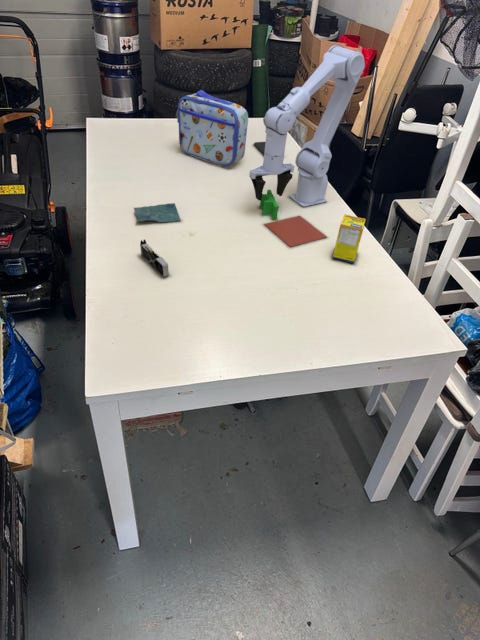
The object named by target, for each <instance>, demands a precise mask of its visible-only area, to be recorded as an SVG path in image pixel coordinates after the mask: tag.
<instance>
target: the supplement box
mask: <svg viewBox="0 0 480 640" xmlns="http://www.w3.org/2000/svg"><path fill="white" fill-rule="evenodd" d="M366 220H367V219H366V218H364V217H363V218H362V217H359V216H353V215H350V214H343V217H342V219H341V223H340V225H339V228H338V233H337V237H336V242H335V246H334V251H333V255H332V260H336V261H341V262H344V263H349V264H352V265H353V264H355V260H356V258H357V254H358V250H359V247H360V243H361V238H362V236H363V232H364V228H365V224H366Z"/></svg>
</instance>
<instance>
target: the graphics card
mask: <svg viewBox="0 0 480 640" xmlns="http://www.w3.org/2000/svg"><path fill="white" fill-rule="evenodd" d="M139 247H140V253H141V254H140V257H142V259H144V260H145V261H146V263H148V264H149V265H150V266H151V267H152V268H153V269H154V270H155V271H156V272H157V273H158V274H159V275H160V276H161V277H162V278H166V277H168V276H169V275H170V271H169V263H168V262H167V261H166V260H165V259H164V258H163V257H161V256H160V255H158V254H157V252H155V250H153V248H152V247H151V246H150V245H149V244H148V243H147V241H146V239H141V240H140V244H139Z"/></svg>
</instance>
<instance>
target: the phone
mask: <svg viewBox="0 0 480 640" xmlns="http://www.w3.org/2000/svg"><path fill="white" fill-rule="evenodd" d="M265 142H266V141H256V142H254V143H253V146H254V147H255V148H256V149H257V150H258V151H259V152H260V153H261V154H262V155H263V156H264V152H265Z"/></svg>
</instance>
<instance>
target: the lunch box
mask: <svg viewBox="0 0 480 640" xmlns="http://www.w3.org/2000/svg"><path fill="white" fill-rule="evenodd" d="M175 118H177V119H176V120H177V121H176V122H177V124H178V142H179V147H180V149H181V151H183V152H184V153H185V154H186V155H189V156H191V157H193V158H196V159H199V160H202V161H204V162H207V163H212V164H216V165H220V166H223V167H230V166H232V165H233V164H235V163H236V162H240V161H242V160H243V159H244V156H245V153H246V145H247V144H246V143H247V134H248V127H249V126H248V125H249V113H248V111H247V109H245V107H243V106H242V105H240V104H237V103H235V102H231V101H228V100H225V99H222V98H218V97H214V96H212V95H210V94H209V93H207V92H206V91H204V90H203V89H200V90H198V91H196V93H192V94H187V95H185V96H182V97H180V99H179V101H178V103H177V111H176V114H175Z"/></svg>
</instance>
